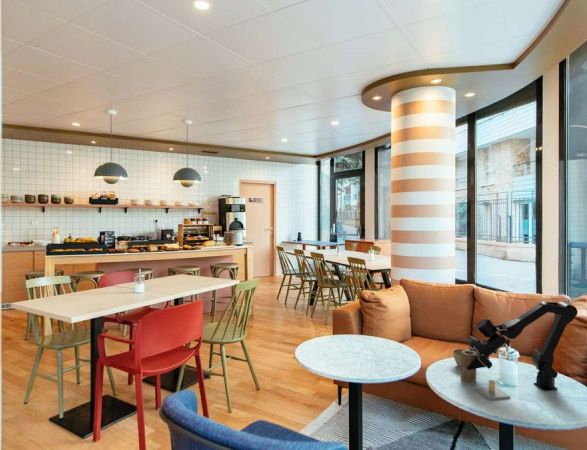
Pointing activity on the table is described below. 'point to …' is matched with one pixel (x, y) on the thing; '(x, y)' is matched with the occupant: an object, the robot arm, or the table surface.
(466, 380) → the brown faceted vase
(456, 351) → the flower pot
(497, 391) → the post stand
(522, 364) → the table surface
